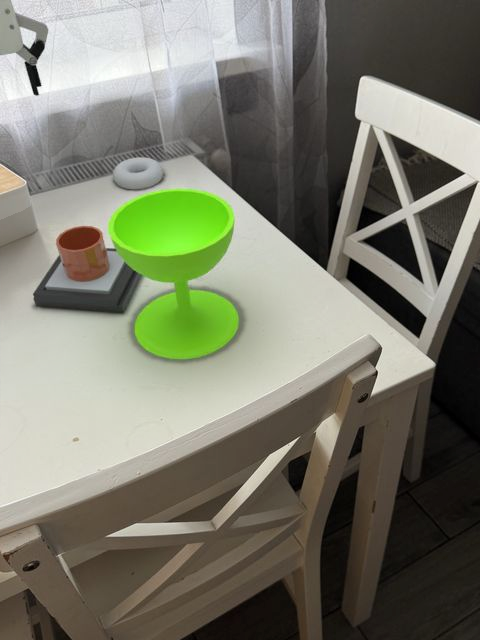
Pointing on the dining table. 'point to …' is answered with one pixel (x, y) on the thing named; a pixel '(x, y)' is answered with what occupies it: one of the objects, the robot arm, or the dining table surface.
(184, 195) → the wineglass
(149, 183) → the donut
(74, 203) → the dining table surface
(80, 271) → the cup
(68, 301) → the scale
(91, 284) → the grey square slab
